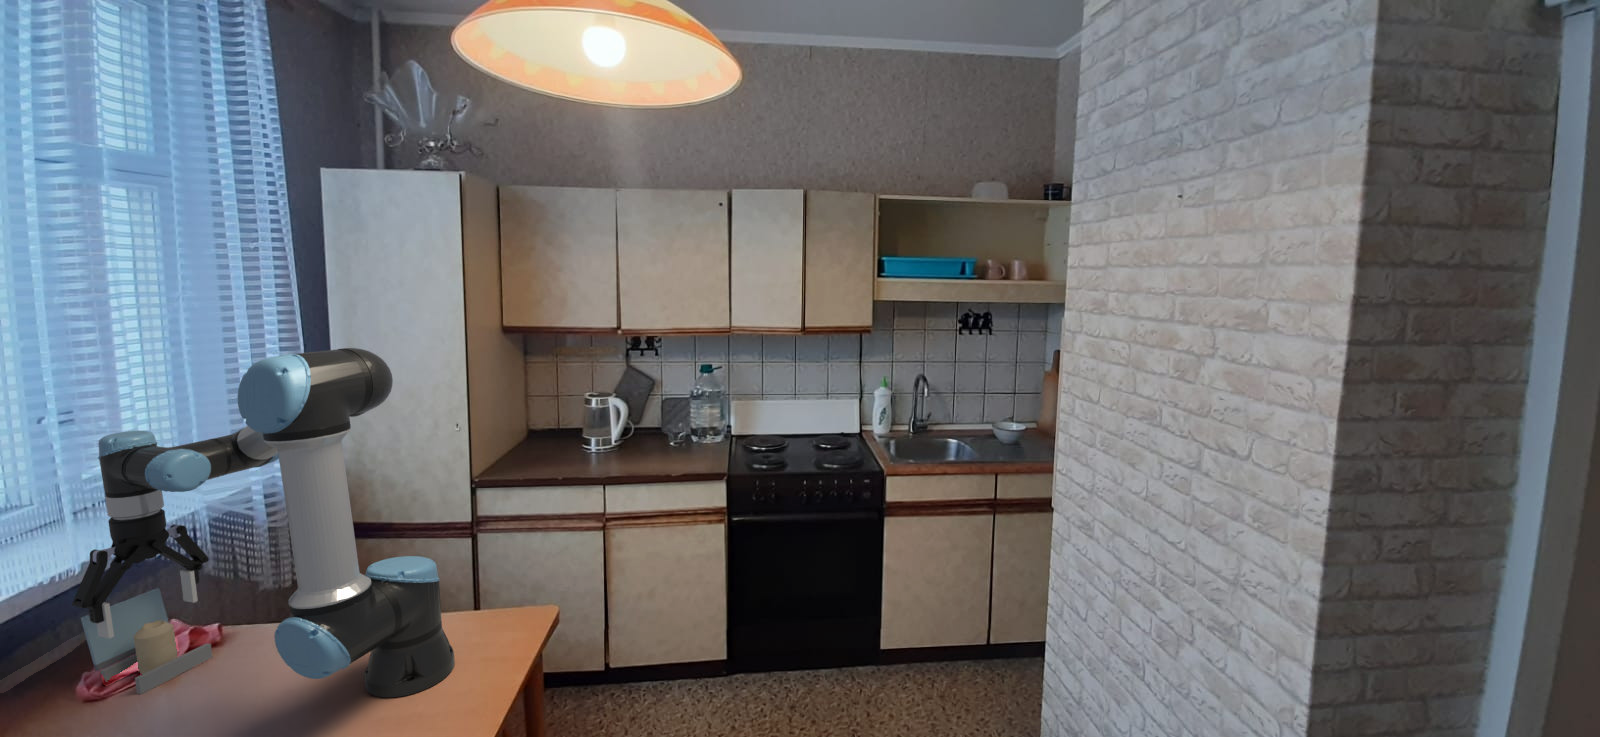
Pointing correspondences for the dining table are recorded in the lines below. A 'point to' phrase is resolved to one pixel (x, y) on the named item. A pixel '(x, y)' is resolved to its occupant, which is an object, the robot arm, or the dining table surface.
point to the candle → (155, 645)
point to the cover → (123, 628)
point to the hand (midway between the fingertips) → (150, 617)
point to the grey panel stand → (161, 668)
